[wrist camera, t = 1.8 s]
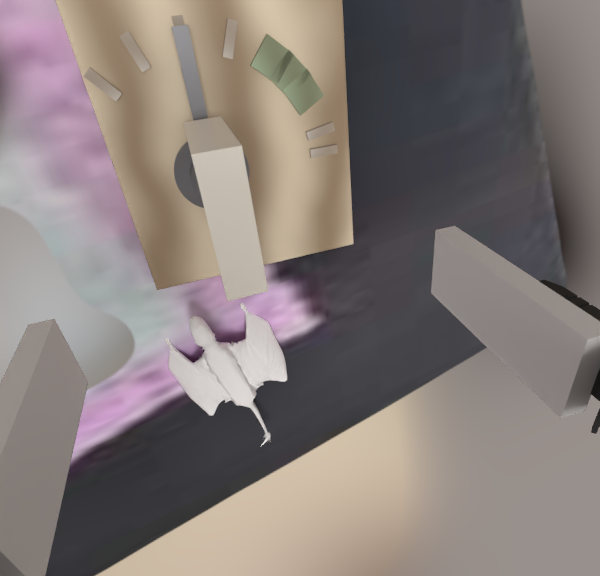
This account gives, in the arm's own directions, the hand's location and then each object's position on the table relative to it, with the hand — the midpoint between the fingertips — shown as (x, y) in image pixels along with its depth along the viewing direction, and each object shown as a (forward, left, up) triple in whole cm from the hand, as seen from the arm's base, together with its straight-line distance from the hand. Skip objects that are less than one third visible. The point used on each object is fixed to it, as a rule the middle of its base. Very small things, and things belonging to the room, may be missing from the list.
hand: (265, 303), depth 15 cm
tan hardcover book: (+2, +3, -20) cm, 20 cm away
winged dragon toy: (-2, -20, -20) cm, 28 cm away
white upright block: (0, +2, -17) cm, 17 cm away
